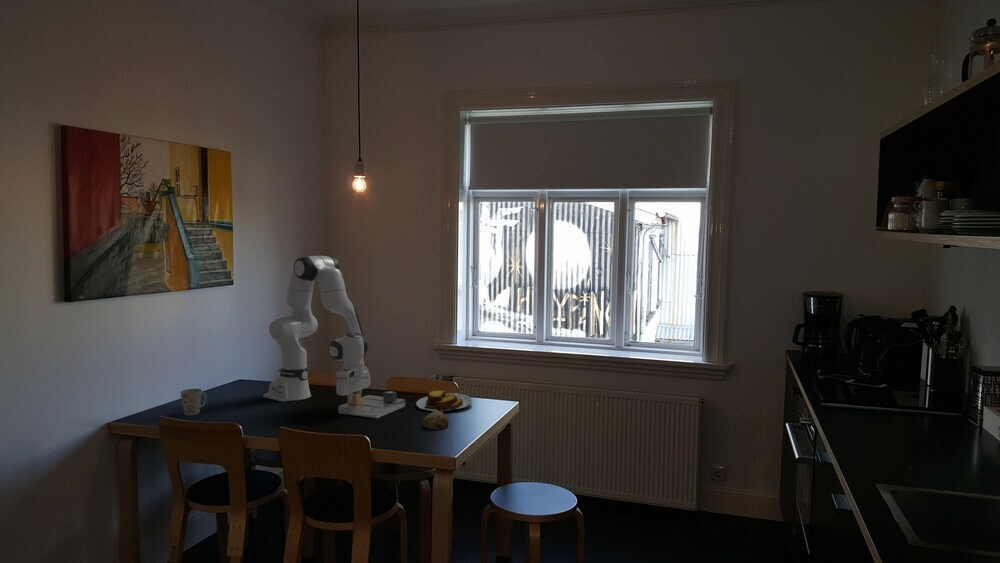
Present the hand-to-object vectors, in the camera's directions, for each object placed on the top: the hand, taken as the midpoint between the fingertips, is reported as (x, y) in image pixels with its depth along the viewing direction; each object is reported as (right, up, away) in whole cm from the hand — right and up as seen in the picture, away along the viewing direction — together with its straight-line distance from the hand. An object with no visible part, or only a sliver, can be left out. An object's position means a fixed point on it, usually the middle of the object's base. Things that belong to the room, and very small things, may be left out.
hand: (354, 401), depth 291 cm
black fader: (+15, -1, +4) cm, 16 cm away
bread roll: (+38, -7, -22) cm, 44 cm away
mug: (-68, -5, -3) cm, 69 cm away
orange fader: (0, -1, 0) cm, 1 cm away
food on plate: (+39, -4, +9) cm, 40 cm away
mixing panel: (+8, -4, +2) cm, 9 cm away
